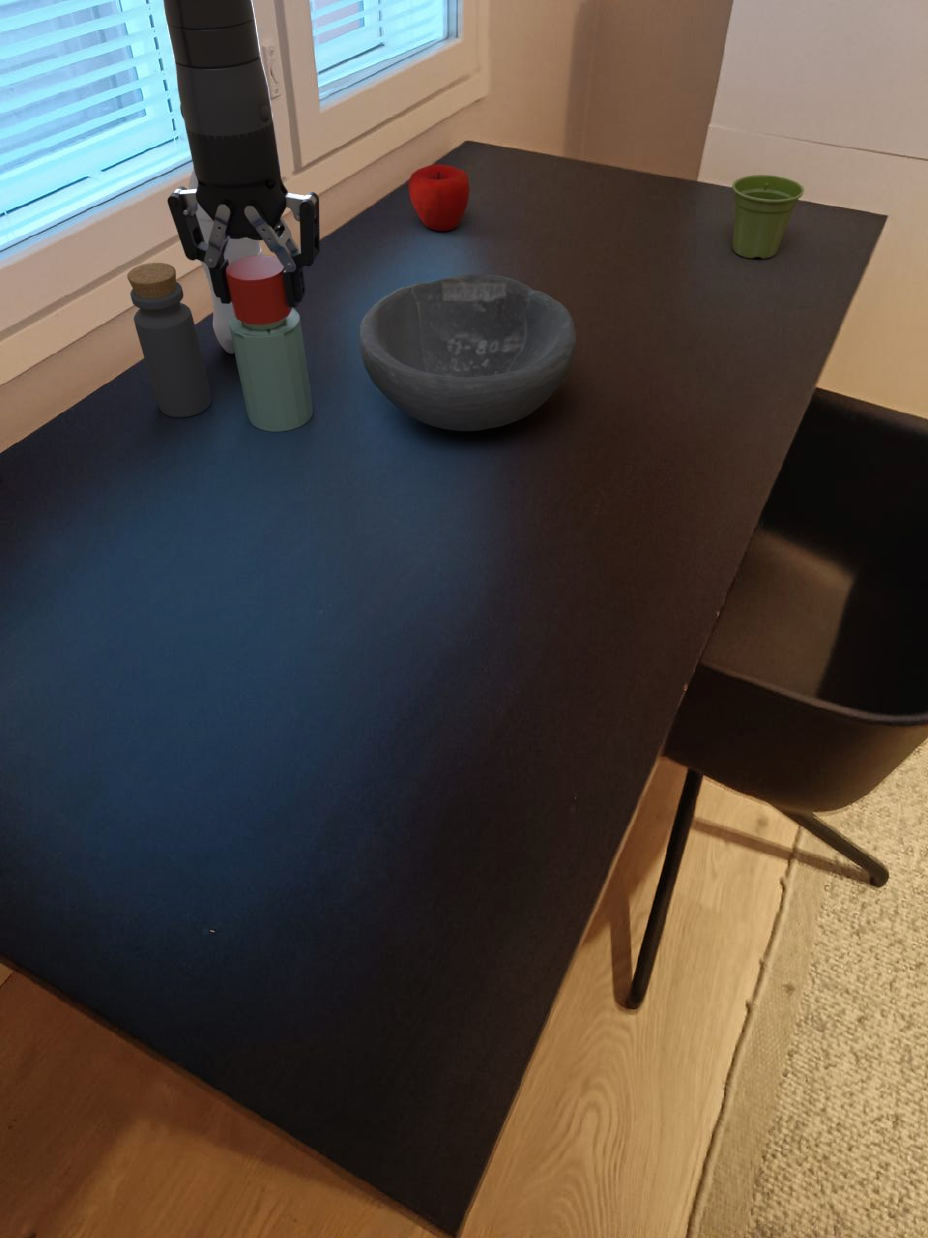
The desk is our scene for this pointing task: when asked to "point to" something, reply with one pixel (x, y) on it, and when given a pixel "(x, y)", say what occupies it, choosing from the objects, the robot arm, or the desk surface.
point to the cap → (258, 289)
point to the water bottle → (232, 253)
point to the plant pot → (762, 213)
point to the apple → (439, 195)
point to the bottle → (169, 341)
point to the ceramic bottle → (273, 372)
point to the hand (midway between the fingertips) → (261, 301)
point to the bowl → (467, 350)
